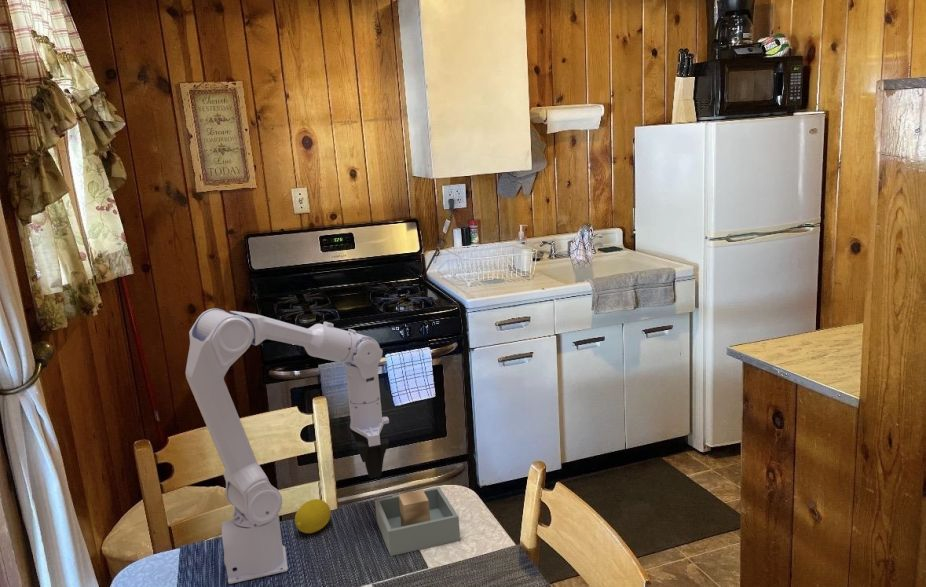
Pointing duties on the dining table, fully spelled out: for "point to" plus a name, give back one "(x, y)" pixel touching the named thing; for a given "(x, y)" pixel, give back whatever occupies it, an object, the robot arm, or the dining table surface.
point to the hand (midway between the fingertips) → (371, 468)
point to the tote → (421, 534)
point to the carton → (413, 508)
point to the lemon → (312, 516)
